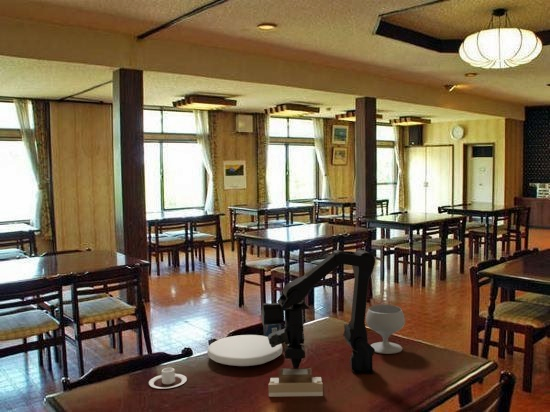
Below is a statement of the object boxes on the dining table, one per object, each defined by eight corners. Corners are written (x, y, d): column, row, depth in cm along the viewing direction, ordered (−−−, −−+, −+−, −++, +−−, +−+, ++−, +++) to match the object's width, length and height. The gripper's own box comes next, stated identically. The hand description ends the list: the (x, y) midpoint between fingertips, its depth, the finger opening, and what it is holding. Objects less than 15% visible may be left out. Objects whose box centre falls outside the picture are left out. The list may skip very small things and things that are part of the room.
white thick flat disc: (221, 331, 206) (288, 333, 201) (221, 347, 206) (288, 351, 201) (196, 347, 179) (273, 351, 173) (196, 367, 179) (273, 371, 173)
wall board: (321, 380, 167) (320, 369, 167) (323, 395, 156) (322, 384, 156) (270, 381, 168) (270, 370, 167) (268, 396, 157) (268, 384, 156)
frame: (311, 379, 166) (311, 367, 165) (312, 387, 160) (311, 375, 159) (279, 379, 166) (279, 368, 166) (279, 387, 160) (278, 375, 160)
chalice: (379, 340, 204) (379, 301, 203) (412, 348, 194) (412, 307, 193) (358, 349, 194) (358, 309, 193) (392, 358, 184) (391, 316, 183)
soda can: (262, 337, 211) (261, 308, 210) (279, 335, 213) (278, 306, 212) (266, 343, 204) (265, 312, 203) (283, 341, 206) (282, 310, 205)
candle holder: (149, 393, 163) (148, 379, 162) (148, 378, 174) (147, 365, 174) (188, 387, 166) (188, 374, 165) (184, 373, 177) (184, 361, 177)
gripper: (270, 315, 179) (271, 360, 180) (267, 332, 160) (269, 382, 161) (303, 314, 178) (304, 359, 180) (304, 331, 160) (305, 381, 161)
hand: (295, 370), depth 170 cm, fingers closed
